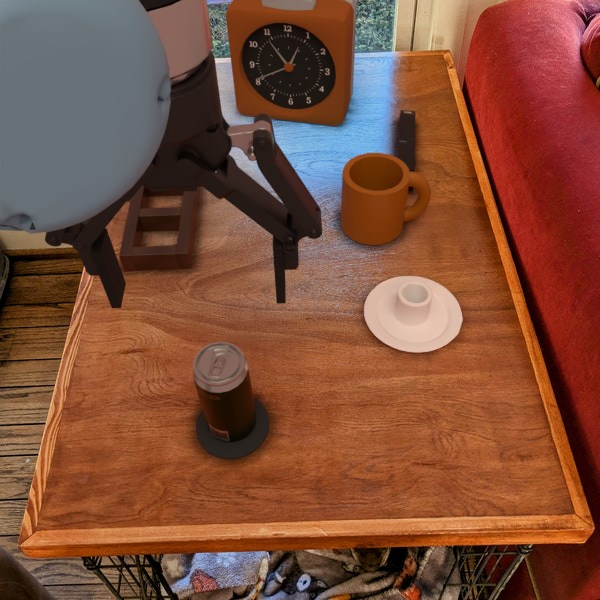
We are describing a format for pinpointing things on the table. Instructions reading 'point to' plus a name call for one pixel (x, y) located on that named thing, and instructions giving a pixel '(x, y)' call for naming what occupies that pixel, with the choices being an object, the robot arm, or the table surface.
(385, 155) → the mug
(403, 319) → the candle holder
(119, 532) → the table surface
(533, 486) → the table surface
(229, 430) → the beer can
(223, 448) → the coaster
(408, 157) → the black long bar
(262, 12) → the alarm clock
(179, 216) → the can rack
